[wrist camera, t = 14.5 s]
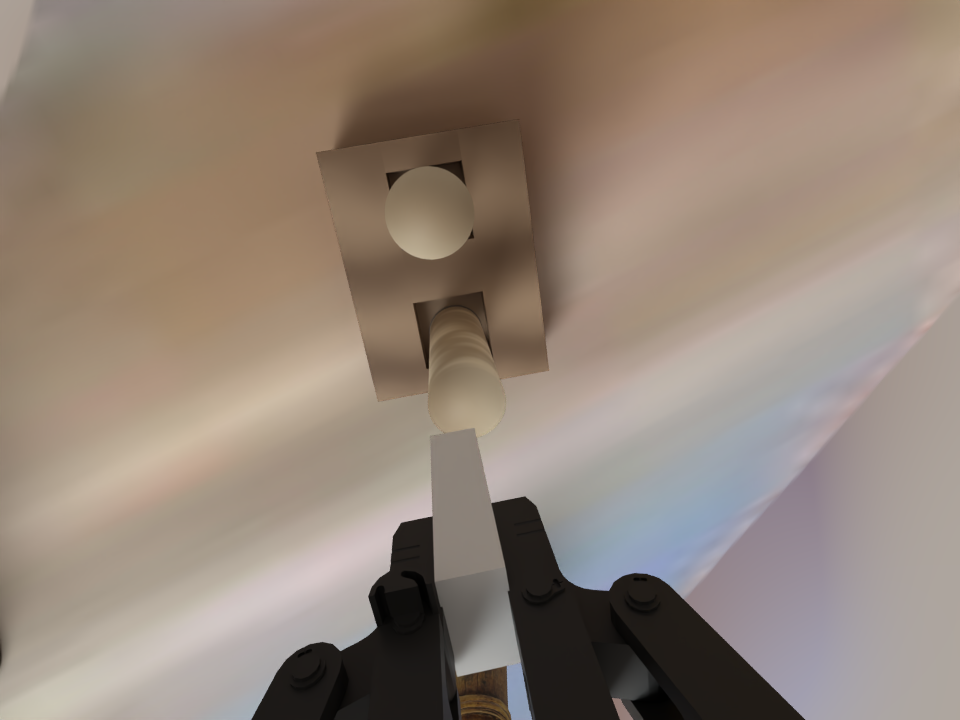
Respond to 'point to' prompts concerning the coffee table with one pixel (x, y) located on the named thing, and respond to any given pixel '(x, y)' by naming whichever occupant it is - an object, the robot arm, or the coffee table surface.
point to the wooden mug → (484, 695)
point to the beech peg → (462, 374)
